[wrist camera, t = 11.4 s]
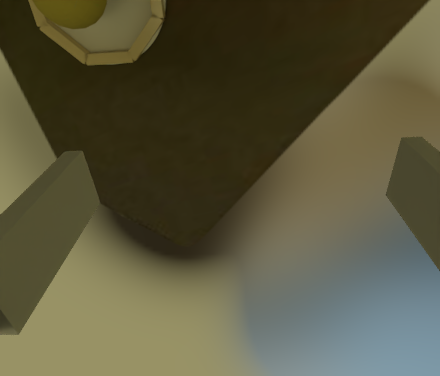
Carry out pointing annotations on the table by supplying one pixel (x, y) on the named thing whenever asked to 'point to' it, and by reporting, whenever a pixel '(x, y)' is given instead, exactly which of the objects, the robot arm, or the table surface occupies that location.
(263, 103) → the table surface
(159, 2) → the socket base
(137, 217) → the table surface
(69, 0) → the light bulb
